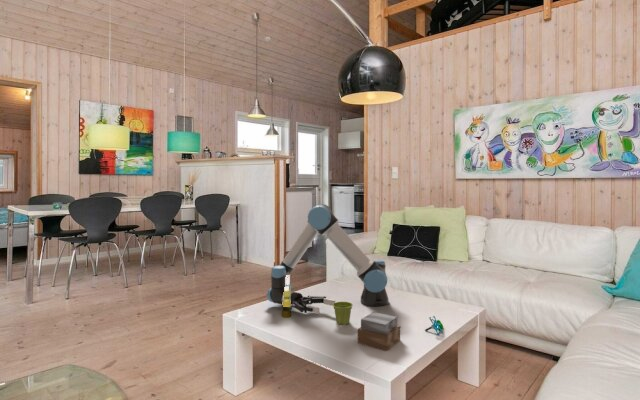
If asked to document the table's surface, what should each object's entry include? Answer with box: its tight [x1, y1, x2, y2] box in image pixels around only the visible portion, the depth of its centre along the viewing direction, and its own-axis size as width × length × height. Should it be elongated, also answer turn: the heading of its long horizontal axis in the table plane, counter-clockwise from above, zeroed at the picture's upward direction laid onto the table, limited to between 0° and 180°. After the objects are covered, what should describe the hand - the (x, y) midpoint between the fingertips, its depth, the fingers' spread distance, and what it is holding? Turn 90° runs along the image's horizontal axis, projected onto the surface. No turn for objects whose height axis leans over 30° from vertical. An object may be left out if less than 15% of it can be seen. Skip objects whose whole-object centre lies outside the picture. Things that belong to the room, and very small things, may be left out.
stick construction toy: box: [424, 315, 444, 335], centre depth 177 cm, size 12×7×8 cm
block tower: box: [357, 311, 401, 352], centre depth 165 cm, size 13×13×10 cm
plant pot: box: [332, 301, 354, 326], centre depth 187 cm, size 9×9×9 cm
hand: (327, 306), depth 192 cm, fingers open, 13 cm apart
